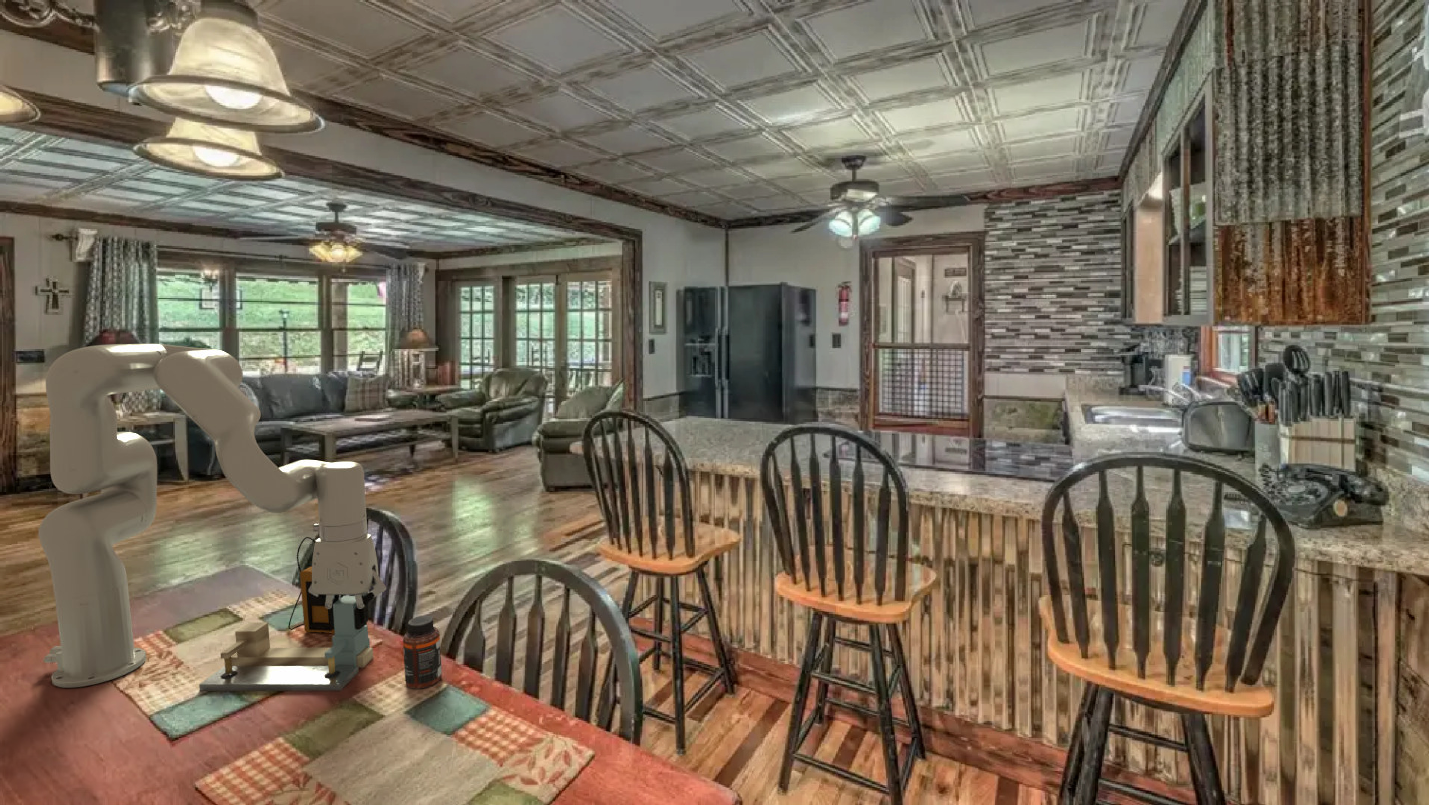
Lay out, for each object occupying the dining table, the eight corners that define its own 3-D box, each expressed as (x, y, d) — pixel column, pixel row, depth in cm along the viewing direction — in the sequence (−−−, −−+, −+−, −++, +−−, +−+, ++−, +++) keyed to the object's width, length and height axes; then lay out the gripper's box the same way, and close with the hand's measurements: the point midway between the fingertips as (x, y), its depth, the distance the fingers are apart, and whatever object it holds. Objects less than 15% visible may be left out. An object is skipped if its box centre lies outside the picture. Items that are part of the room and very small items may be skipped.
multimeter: (383, 614, 144) (378, 525, 141) (354, 635, 134) (348, 540, 131) (320, 611, 145) (314, 522, 143) (286, 632, 135) (279, 537, 133)
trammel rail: (209, 684, 116) (205, 646, 115) (245, 657, 125) (242, 622, 124) (347, 683, 116) (345, 645, 115) (373, 657, 125) (371, 622, 124)
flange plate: (199, 691, 114) (199, 683, 113) (224, 672, 120) (224, 665, 119) (340, 690, 114) (340, 683, 114) (358, 672, 120) (358, 665, 120)
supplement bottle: (449, 677, 118) (446, 616, 117) (422, 693, 113) (419, 630, 112) (425, 669, 121) (422, 610, 120) (397, 685, 116) (394, 623, 114)
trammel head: (318, 681, 116) (314, 617, 115) (349, 652, 126) (345, 594, 125) (341, 680, 116) (337, 617, 115) (370, 652, 126) (366, 594, 125)
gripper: (284, 536, 116) (292, 636, 119) (379, 537, 117) (385, 635, 119) (310, 524, 124) (316, 617, 126) (399, 524, 124) (404, 617, 126)
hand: (349, 625), depth 122 cm, fingers closed on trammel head, 3 cm apart
